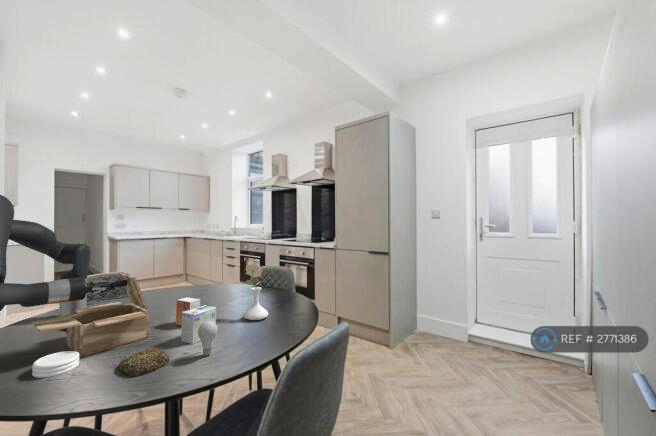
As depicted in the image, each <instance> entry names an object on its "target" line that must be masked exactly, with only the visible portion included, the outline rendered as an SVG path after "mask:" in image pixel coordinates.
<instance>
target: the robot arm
mask: <svg viewBox="0 0 656 436" xmlns="http://www.w3.org/2000/svg"><path fill="white" fill-rule="evenodd" d="M14 218H15V207H14V205H13V203H12V202H11V200H10V199H9V198H8V197H6V196H4V195H2V194H0V312H1V311H2V310H3V309H4V308H5V306H12V305H13V306H14V305H20V306H21V307H23V308H30V307H31V308H32V307H39V306H44V305H53V304H54V305H55V304H58V317H59V316H64V315H69V316H70V315H75V314H78V313H76V312H75V310H76V309H81V308H87V299H88V298H87V294H88V293H91V294H92V295H93V294H99V293H106V292H109V291H112V290H116V288H121V287H124V286H127V280H121V279H120V280H112V279H110V280H109V279H106V280H105V279H104V280H99V279H98V280H90V281H89V282H88V274H89V271H90V265H91V264H90V263H91V255H92V254H91V252H92V251H91V248H90V246H89V245H88V244H86V243H65V242H61V241H60V240H57V236H56V233H55V232H54V231H53V230H52V229H50V228H49V227H47V226H44V225H43V224H41V223H39V222H34V221H30V220H22V219H21V220H20V219H14ZM9 241H13V242H14V243H17V244H19V245H21V246H23V247H25V248H28V249H30V250H33V251H35V252H39V253H40V254H43V255H45V256H46V257H47V256H48V257H50V258H51V259H53V260H54V261H56V262H57V263H59V264H63V265H73V266H72V268H71V269H70V270H69V271H66V272H63V273H60V275H59V277H60V278H59V279H56V280H52V281H51V280H50V281H44V282H43V281H42V282H34V283H13V282H12V283H11V282H8V283H7V282H5V281H6V278H7V270H8V269H7V250H8V243H9Z"/></svg>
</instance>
